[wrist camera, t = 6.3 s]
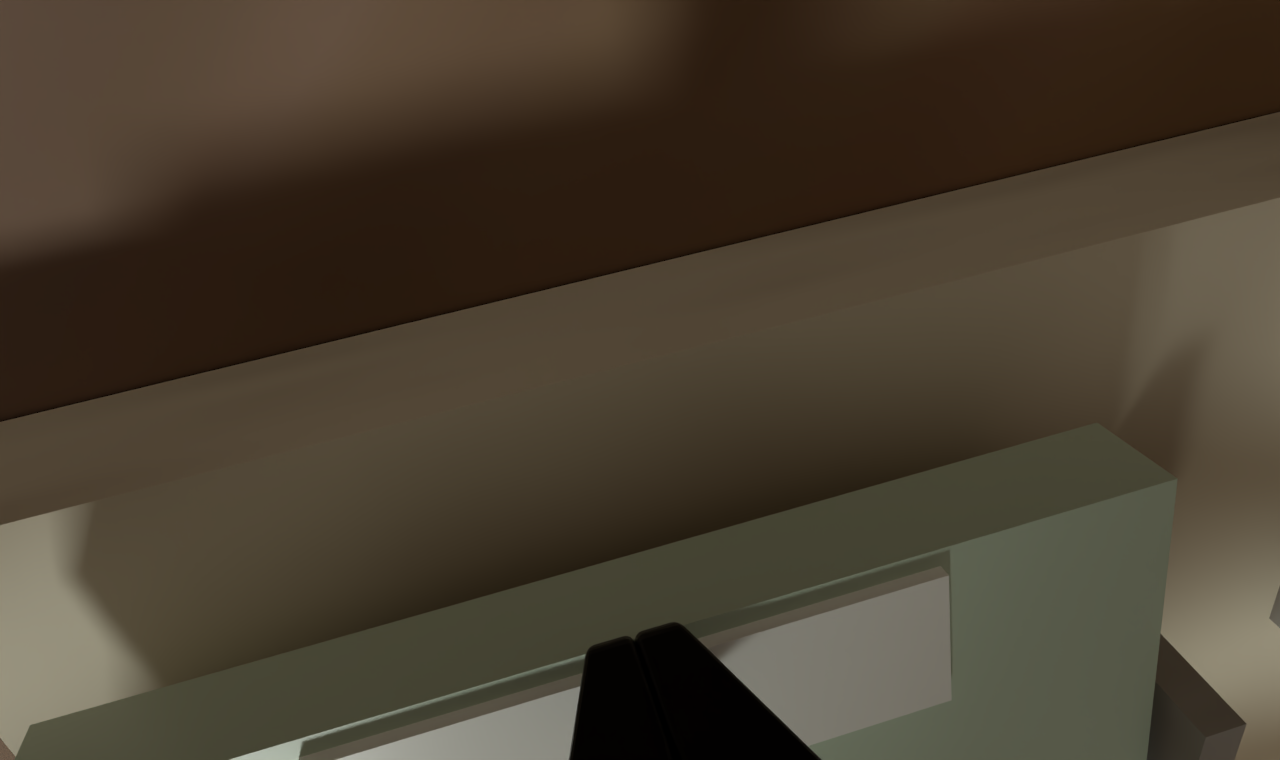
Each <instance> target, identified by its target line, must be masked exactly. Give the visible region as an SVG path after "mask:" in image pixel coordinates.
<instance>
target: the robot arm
mask: <svg viewBox="0 0 1280 760" xmlns="http://www.w3.org/2000/svg"><path fill="white" fill-rule="evenodd" d="M569 760H822V759H821V758H820V757H819V756H818V755H817V754H816V753H815V752H814V751H813V750H811V749H810V748H809V747H808V746H807V745H806V744H805V743H804V742H803V741H802V740H801V739H800V738H799V737H798V736H797V735H796V734H795V733H794V732H793V731H792V730H791V729H790V728H789V727H788V726H787V725H786V724H785V723H784V722H783V721H782V720H781V719H780V718H779V717H778V716H776V715H775V714H774V713H773V712H772V711H771V710H770V709H769V708H768V707H767V706H766V705H765V704H764V703H763V702H762V701H761V700H760V699H759V698H758V697H757V696H756V695H755V694H754V693H753V692H752V691H751V690H750V689H749V688H748V687H747V686H746V685H745V684H744V683H743V682H742V681H740V680H739V679H738V678H737V677H736V676H735V675H734V674H733V673H732V672H731V671H730V670H729V669H728V668H727V667H726V666H725V665H724V664H723V663H722V662H721V661H720V660H719V659H718V658H717V657H716V656H715V655H714V654H713V653H712V652H711V651H710V650H709V649H708V648H707V647H705V646H704V645H703V644H702V643H701V642H700V641H699V640H698V639H697V638H696V637H695V636H694V635H693V634H692V633H691V632H690V631H689V630H688V629H687V628H686V627H685V626H683V625H682V624H680V623H678V622H670V623H667V624H663V625H660V626H656V627H653V628H649V629H646V630H643V631H640V632H639V633H638V634H637V635H636V637H635V642H634V640H633V639H632V638H631V637H629V636H622V637H619V638H615V639H612V640H608V641H605V642H601V643H598V644H595V645H592V646H591V647H590V648H589V649H588V650H587V652H586V655H585V660H584V666H583V673H582V679H581V685H580V692H579V698H578V704H577V711H576V717H575V723H574V730H573V736H572V742H571V749H570V755H569Z"/></svg>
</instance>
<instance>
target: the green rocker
mask: <svg viewBox="0 0 1280 760" xmlns="http://www.w3.org/2000/svg"><path fill="white" fill-rule="evenodd" d="M1177 480H1178V479H1177V478H1176V477H1175V476H1173V475H1172V474H1170V473H1169V472H1167V471H1166V470H1164V469H1163V468H1162V467H1160V466H1159V465H1157V464H1156V463H1154V462H1153V461H1152V460H1150V459H1149V458H1147V457H1146V456H1144V455H1143V454H1142V453H1140V452H1139V451H1137V450H1136V449H1134V448H1133V447H1132V446H1130V445H1129V444H1127V443H1126V442H1124V441H1123V440H1122V439H1120V438H1119V437H1117V436H1116V435H1114V434H1113V433H1112V432H1110V431H1109V430H1107V429H1106V428H1104V427H1103V426H1102V425H1100V424H1099V423H1093V424H1090V425H1086V426H1083V427H1079V428H1076V429H1072V430H1069V431H1065V432H1061V433H1058V434H1054V435H1051V436H1047V437H1044V438H1040V439H1037V440H1033V441H1030V442H1026V443H1023V444H1019V445H1016V446H1012V447H1009V448H1005V449H1002V450H998V451H995V452H991V453H987V454H984V455H980V456H977V457H973V458H970V459H966V460H963V461H959V462H956V463H952V464H949V465H945V466H942V467H938V468H935V469H931V470H928V471H924V472H920V473H917V474H913V475H910V476H906V477H903V478H899V479H896V480H892V481H889V482H885V483H882V484H878V485H875V486H871V487H868V488H864V489H861V490H857V491H854V492H850V493H846V494H843V495H839V496H836V497H832V498H829V499H825V500H822V501H818V502H815V503H811V504H808V505H804V506H801V507H797V508H794V509H790V510H787V511H783V512H779V513H776V514H772V515H769V516H765V517H762V518H758V519H755V520H751V521H748V522H744V523H741V524H737V525H734V526H730V527H727V528H723V529H720V530H716V531H713V532H709V533H705V534H702V535H698V536H695V537H691V538H688V539H684V540H681V541H677V542H674V543H670V544H667V545H663V546H660V547H656V548H653V549H649V550H646V551H642V552H638V553H635V554H631V555H628V556H624V557H621V558H617V559H614V560H610V561H607V562H603V563H600V564H596V565H593V566H589V567H586V568H582V569H579V570H575V571H572V572H568V573H564V574H561V575H557V576H554V577H550V578H547V579H543V580H540V581H536V582H533V583H529V584H526V585H522V586H519V587H515V588H512V589H508V590H505V591H501V592H498V593H494V594H490V595H487V596H483V597H480V598H476V599H473V600H469V601H466V602H462V603H459V604H455V605H452V606H448V607H445V608H441V609H438V610H434V611H431V612H427V613H423V614H420V615H416V616H413V617H409V618H406V619H402V620H399V621H395V622H392V623H388V624H385V625H381V626H378V627H374V628H371V629H367V630H364V631H360V632H357V633H353V634H349V635H346V636H342V637H339V638H335V639H332V640H328V641H325V642H321V643H318V644H314V645H311V646H307V647H304V648H300V649H297V650H293V651H290V652H286V653H282V654H279V655H275V656H272V657H268V658H265V659H261V660H258V661H254V662H251V663H247V664H244V665H240V666H237V667H233V668H230V669H226V670H223V671H219V672H216V673H212V674H208V675H205V676H201V677H198V678H194V679H191V680H187V681H184V682H180V683H177V684H173V685H170V686H166V687H163V688H159V689H156V690H152V691H149V692H145V693H141V694H138V695H134V696H131V697H127V698H124V699H120V700H117V701H113V702H110V703H106V704H103V705H99V706H96V707H92V708H89V709H85V710H82V711H78V712H75V713H71V714H67V715H64V716H60V717H57V718H53V719H50V720H46V721H43V722H39V723H36V724H32V725H30V726H29V728H28V731H27V733H26V735H25V737H24V740H23V742H22V744H21V746H20V748H19V751H18V753H17V755H16V757H15V760H569V755H570V749H571V742H572V736H573V730H574V723H575V717H576V711H577V704H578V698H579V692H580V685H581V679H582V673H583V666H584V660H585V655H586V652H587V650H588V649H589V648H590V647H591V646H592V645H595V644H598V643H601V642H605V641H608V640H612V639H615V638H619V637H622V636H629V637H631V638H632V639H633V640H634V642H635V637H636V635H637V634H638V633H639V632H640V631H643V630H646V629H649V628H653V627H656V626H660V625H663V624H667V623H670V622H678V623H680V624H682V625H683V626H685V627H686V628H687V629H688V630H689V631H690V632H691V633H692V634H693V635H694V636H695V637H696V638H697V639H698V640H699V641H700V642H701V643H702V644H703V645H704V646H705V647H707V648H708V649H709V650H710V651H711V652H712V653H713V654H714V655H715V656H716V657H717V658H718V659H719V660H720V661H721V662H722V663H723V664H724V665H725V666H726V667H727V668H728V669H729V670H730V671H731V672H732V673H733V674H734V675H735V676H736V677H737V678H738V679H739V680H740V681H742V682H743V683H744V684H745V685H746V686H747V687H748V688H749V689H750V690H751V691H752V692H753V693H754V694H755V695H756V696H757V697H758V698H759V699H760V700H761V701H762V702H763V703H764V704H765V705H766V706H767V707H768V708H769V709H770V710H771V711H772V712H773V713H774V714H775V715H776V716H778V717H779V718H780V719H781V720H782V721H783V722H784V723H785V724H786V725H787V726H788V727H789V728H790V729H791V730H792V731H793V732H794V733H795V734H796V735H797V736H798V737H799V738H800V739H801V740H802V741H803V742H804V743H805V744H806V745H807V746H808V747H809V748H810V749H811V750H813V751H814V752H815V753H816V754H817V755H818V756H819V757H820V758H821V759H822V760H1147V752H1148V743H1149V734H1150V725H1151V716H1152V707H1153V698H1154V689H1155V680H1156V671H1157V662H1158V652H1159V643H1160V634H1161V625H1162V616H1163V607H1164V598H1165V589H1166V580H1167V571H1168V562H1169V553H1170V544H1171V534H1172V525H1173V516H1174V507H1175V498H1176V489H1177Z"/></svg>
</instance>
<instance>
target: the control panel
mask: <svg viewBox="0 0 1280 760" xmlns="http://www.w3.org/2000/svg"><path fill="white" fill-rule="evenodd" d="M1093 423H1099V424H1100V425H1102V426H1103V427H1104V428H1106V429H1107V430H1109V431H1110V432H1112V433H1113V434H1114V435H1116V436H1117V437H1119V438H1120V439H1122V440H1123V441H1124V442H1126V443H1127V444H1129V445H1130V446H1132V447H1133V448H1134V449H1136V450H1137V451H1139V452H1140V453H1142V454H1143V455H1144V456H1146V457H1147V458H1149V459H1150V460H1152V461H1153V462H1154V463H1156V464H1157V465H1159V466H1160V467H1162V468H1163V469H1164V470H1166V471H1167V472H1169V473H1170V474H1172V475H1173V476H1175V477H1176V478H1177V479H1178V480H1177V489H1176V498H1175V507H1174V516H1173V525H1172V534H1171V544H1170V553H1169V562H1168V571H1167V580H1166V589H1165V598H1164V607H1163V616H1162V625H1161V634H1160V643H1159V652H1158V662H1157V671H1156V680H1155V689H1154V698H1153V707H1152V716H1151V725H1150V734H1149V743H1148V752H1147V760H1280V112H1277V113H1273V114H1269V115H1265V116H1261V117H1257V118H1252V119H1248V120H1244V121H1240V122H1236V123H1232V124H1228V125H1224V126H1219V127H1215V128H1211V129H1207V130H1203V131H1199V132H1195V133H1191V134H1186V135H1182V136H1178V137H1174V138H1170V139H1166V140H1162V141H1158V142H1153V143H1149V144H1145V145H1141V146H1137V147H1133V148H1129V149H1125V150H1120V151H1116V152H1112V153H1108V154H1104V155H1100V156H1096V157H1091V158H1087V159H1083V160H1079V161H1075V162H1071V163H1067V164H1063V165H1058V166H1054V167H1050V168H1046V169H1042V170H1038V171H1034V172H1030V173H1025V174H1021V175H1017V176H1013V177H1009V178H1005V179H1001V180H997V181H992V182H988V183H984V184H980V185H976V186H972V187H968V188H964V189H959V190H955V191H951V192H947V193H943V194H939V195H935V196H931V197H926V198H922V199H918V200H914V201H910V202H906V203H902V204H898V205H893V206H889V207H885V208H881V209H877V210H873V211H869V212H865V213H860V214H856V215H852V216H848V217H844V218H840V219H836V220H832V221H827V222H823V223H819V224H815V225H811V226H807V227H803V228H799V229H794V230H790V231H786V232H782V233H778V234H774V235H770V236H766V237H761V238H757V239H753V240H749V241H745V242H741V243H737V244H733V245H728V246H724V247H720V248H716V249H712V250H708V251H704V252H699V253H695V254H691V255H687V256H683V257H679V258H675V259H671V260H666V261H662V262H658V263H654V264H650V265H646V266H642V267H638V268H633V269H629V270H625V271H621V272H617V273H613V274H609V275H605V276H600V277H596V278H592V279H588V280H584V281H580V282H576V283H572V284H567V285H563V286H559V287H555V288H551V289H547V290H543V291H539V292H534V293H530V294H526V295H522V296H518V297H514V298H510V299H506V300H501V301H497V302H493V303H489V304H485V305H481V306H477V307H473V308H468V309H464V310H460V311H456V312H452V313H448V314H444V315H440V316H435V317H431V318H427V319H423V320H419V321H415V322H411V323H407V324H402V325H398V326H394V327H390V328H386V329H382V330H378V331H374V332H369V333H365V334H361V335H357V336H353V337H349V338H345V339H340V340H336V341H332V342H328V343H324V344H320V345H316V346H312V347H307V348H303V349H299V350H295V351H291V352H287V353H283V354H279V355H274V356H270V357H266V358H262V359H258V360H254V361H250V362H246V363H241V364H237V365H233V366H229V367H225V368H221V369H217V370H213V371H208V372H204V373H200V374H196V375H192V376H188V377H184V378H180V379H175V380H171V381H167V382H163V383H159V384H155V385H151V386H147V387H142V388H138V389H134V390H130V391H126V392H122V393H118V394H114V395H109V396H105V397H101V398H97V399H93V400H89V401H85V402H81V403H76V404H72V405H68V406H64V407H60V408H56V409H52V410H48V411H43V412H39V413H35V414H31V415H27V416H23V417H19V418H15V419H10V420H6V421H2V422H0V738H1V739H2V741H3V742H4V743H5V744H6V746H7V747H8V748H9V749H10V750H11V752H12V753H13V754H14V755H15V757H16V755H17V753H18V751H19V748H20V746H21V744H22V742H23V740H24V737H25V735H26V733H27V731H28V728H29V726H30V725H32V724H36V723H39V722H43V721H46V720H50V719H53V718H57V717H60V716H64V715H67V714H71V713H75V712H78V711H82V710H85V709H89V708H92V707H96V706H99V705H103V704H106V703H110V702H113V701H117V700H120V699H124V698H127V697H131V696H134V695H138V694H141V693H145V692H149V691H152V690H156V689H159V688H163V687H166V686H170V685H173V684H177V683H180V682H184V681H187V680H191V679H194V678H198V677H201V676H205V675H208V674H212V673H216V672H219V671H223V670H226V669H230V668H233V667H237V666H240V665H244V664H247V663H251V662H254V661H258V660H261V659H265V658H268V657H272V656H275V655H279V654H282V653H286V652H290V651H293V650H297V649H300V648H304V647H307V646H311V645H314V644H318V643H321V642H325V641H328V640H332V639H335V638H339V637H342V636H346V635H349V634H353V633H357V632H360V631H364V630H367V629H371V628H374V627H378V626H381V625H385V624H388V623H392V622H395V621H399V620H402V619H406V618H409V617H413V616H416V615H420V614H423V613H427V612H431V611H434V610H438V609H441V608H445V607H448V606H452V605H455V604H459V603H462V602H466V601H469V600H473V599H476V598H480V597H483V596H487V595H490V594H494V593H498V592H501V591H505V590H508V589H512V588H515V587H519V586H522V585H526V584H529V583H533V582H536V581H540V580H543V579H547V578H550V577H554V576H557V575H561V574H564V573H568V572H572V571H575V570H579V569H582V568H586V567H589V566H593V565H596V564H600V563H603V562H607V561H610V560H614V559H617V558H621V557H624V556H628V555H631V554H635V553H638V552H642V551H646V550H649V549H653V548H656V547H660V546H663V545H667V544H670V543H674V542H677V541H681V540H684V539H688V538H691V537H695V536H698V535H702V534H705V533H709V532H713V531H716V530H720V529H723V528H727V527H730V526H734V525H737V524H741V523H744V522H748V521H751V520H755V519H758V518H762V517H765V516H769V515H772V514H776V513H779V512H783V511H787V510H790V509H794V508H797V507H801V506H804V505H808V504H811V503H815V502H818V501H822V500H825V499H829V498H832V497H836V496H839V495H843V494H846V493H850V492H854V491H857V490H861V489H864V488H868V487H871V486H875V485H878V484H882V483H885V482H889V481H892V480H896V479H899V478H903V477H906V476H910V475H913V474H917V473H920V472H924V471H928V470H931V469H935V468H938V467H942V466H945V465H949V464H952V463H956V462H959V461H963V460H966V459H970V458H973V457H977V456H980V455H984V454H987V453H991V452H995V451H998V450H1002V449H1005V448H1009V447H1012V446H1016V445H1019V444H1023V443H1026V442H1030V441H1033V440H1037V439H1040V438H1044V437H1047V436H1051V435H1054V434H1058V433H1061V432H1065V431H1069V430H1072V429H1076V428H1079V427H1083V426H1086V425H1090V424H1093Z"/></svg>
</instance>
